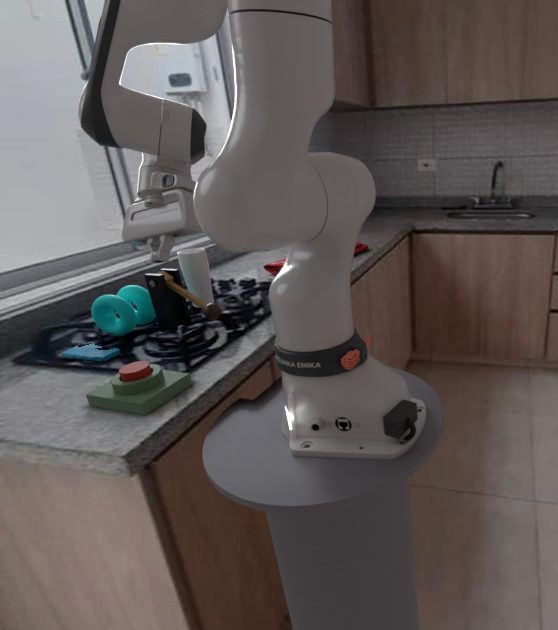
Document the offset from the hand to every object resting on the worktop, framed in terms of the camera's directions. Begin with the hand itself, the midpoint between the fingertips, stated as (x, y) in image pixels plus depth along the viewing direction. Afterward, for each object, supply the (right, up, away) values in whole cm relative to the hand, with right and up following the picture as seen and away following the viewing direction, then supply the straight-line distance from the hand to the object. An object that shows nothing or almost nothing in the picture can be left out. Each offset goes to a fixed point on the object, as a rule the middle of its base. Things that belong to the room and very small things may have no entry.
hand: (159, 262), depth 82 cm
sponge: (-20, -19, +10) cm, 29 cm away
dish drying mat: (+13, +9, +78) cm, 79 cm away
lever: (-2, -7, +14) cm, 16 cm away
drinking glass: (-10, -7, +37) cm, 39 cm away
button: (+1, -20, -7) cm, 22 cm away
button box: (+1, -24, -6) cm, 24 cm away
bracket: (-7, -14, +19) cm, 24 cm away
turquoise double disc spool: (-20, -14, +23) cm, 33 cm away
